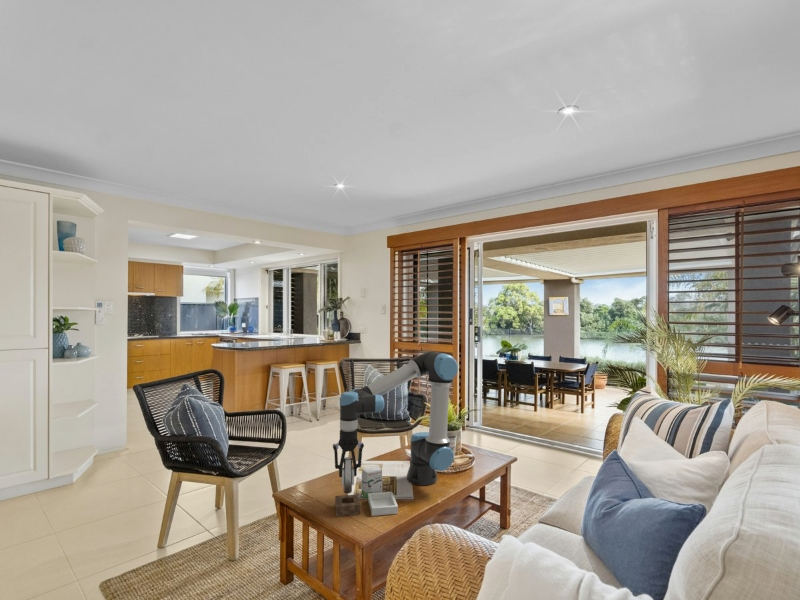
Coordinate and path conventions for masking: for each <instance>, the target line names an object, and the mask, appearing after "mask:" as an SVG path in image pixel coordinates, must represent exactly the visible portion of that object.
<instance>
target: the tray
mask: <svg viewBox="0 0 800 600" xmlns="http://www.w3.org/2000/svg"><path fill="white" fill-rule="evenodd" d="M367 504H368V507H369V510H370V513H371V517H373V516H383V515H384V516H387V515H398V514H399V505H398V503H397V500H396V498H395V495H394V493H393V491H385V492H384V491H382V493H369V494H368V498H367Z"/></svg>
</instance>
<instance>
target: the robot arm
mask: <svg viewBox="0 0 800 600" xmlns="http://www.w3.org/2000/svg"><path fill="white" fill-rule="evenodd" d="M458 372H459V364H458V361H457V360H456V359H455V358H454V357H453V355H450V354H447V353H442V352H436V351H427V352H424V353H421V354H419V355H418V356H415V357H414V358H411V359H409V361H408V363H406V364H404V365H403V366H401V367H399V368H396V369H394V370H393V371H392V372H389V373H388V374H386V375H384V376H381V377H380V378H379V379H377V380H375V381H372V382H371V383H369V384H367V385H366V386H363V387H361V388H354V389H352V390H351V391H345V392H342V393H341V394H340V400H339V440H338V441H337V443H332V449H333V451H334V468H335V470H338V476H339V478H341V486H344V458H346V453H347V452H351V453H350V454H351V458H352V486H354V485H355V477H357V470H358V468H362V458H363V449H364V447H365V444H364V442H360V441H359V439H358V421H359V419H358V416H359V415H362V414H363V415H364V414H365V415H366V414H373V413H374V414H376V413H381V412H383V410H384V408H385V398H384V397H383V395H385V394H387V393H389V392H391V391H392V390H394V389H396V388H398V387H400V386H402V385H404V384H405V383H407V382H409V381H411V380H413V379H414V378H418V379H419V378H421V377H423V376H428V380H427V382H428V383H429V384H430V386H431V388H430V404H429V405H430V407H429V427H428V431H427V432H426V431H423V432H422V431H421V432H415V433H413V434H411V435H410V465H409V467H408V471H407V474H406V480H407V481H409V482H408V483H410V482H411V483H410V484H413V485H416V486H430V485H434V484H436V483H437V482H438V474H437V471H438V472H443V471H446V470H447V469H449V467H451V465H453V463H454V459H455V454H454V451H453V449H452V448H450V447H451V446H450V445H451V440H450V438H449V437H448V425H449V424H448V423H449V419H448V418H449V403H450V402H449V397H450V386H451V385H452V384H453V383H454V381H453V380H454V378H456V376H457V375H458ZM339 447H340V449H341V456H340V460H339V458H338V454H339V453H338V449H339ZM357 447H358V454H357V455H358V456H357V461H356V455H355V454H356V453H355V450H356V448H357Z"/></svg>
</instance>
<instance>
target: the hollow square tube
mask: <svg viewBox="0 0 800 600" xmlns="http://www.w3.org/2000/svg"><path fill="white" fill-rule="evenodd" d="M334 501H335V505H334V506H335V516H336V517H345V516H346V517H347V516H358V515H359V516H360V515H361V511H362V510H361V506H362V505H361V500H360V497H359V494H356V493H355V494H344V495H335V499H334Z"/></svg>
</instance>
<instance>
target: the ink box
mask: <svg viewBox="0 0 800 600" xmlns="http://www.w3.org/2000/svg"><path fill="white" fill-rule="evenodd" d="M382 492H383V469H382V468H381V467H380V466H379V465H375V466H371V467H366V468H365V467H364V468H363V469H361V494H362V495H363V496H362V495H361V496H362V497H363V498H365V499H367V500H368V494H369V493H382Z"/></svg>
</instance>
